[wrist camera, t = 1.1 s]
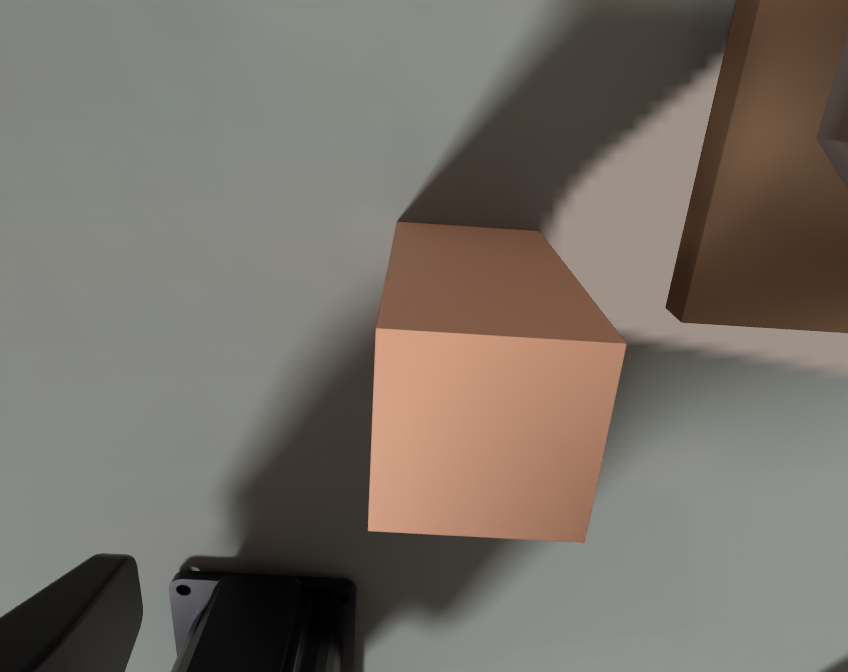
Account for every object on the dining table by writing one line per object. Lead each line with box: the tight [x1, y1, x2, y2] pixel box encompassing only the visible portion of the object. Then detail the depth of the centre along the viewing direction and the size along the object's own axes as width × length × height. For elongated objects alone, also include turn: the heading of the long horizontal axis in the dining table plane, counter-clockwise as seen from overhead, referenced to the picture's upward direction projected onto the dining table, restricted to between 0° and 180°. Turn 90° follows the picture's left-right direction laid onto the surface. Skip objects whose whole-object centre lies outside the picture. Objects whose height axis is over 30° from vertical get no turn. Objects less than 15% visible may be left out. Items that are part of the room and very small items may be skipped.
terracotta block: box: [368, 222, 627, 543], centre depth 14 cm, size 4×4×8 cm
